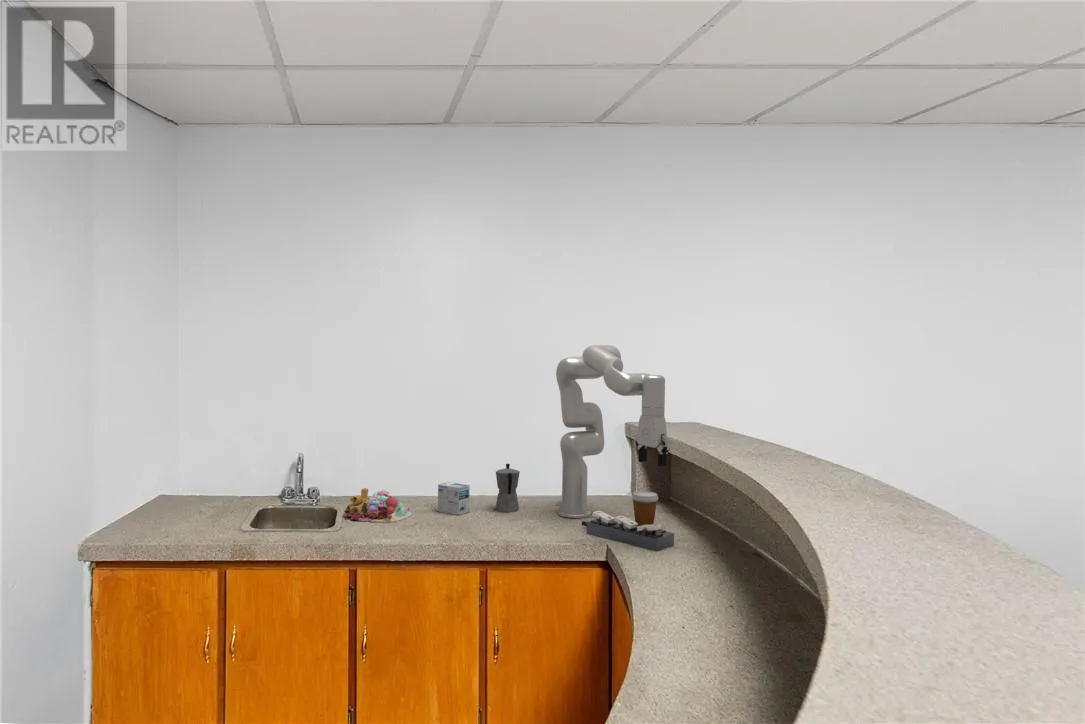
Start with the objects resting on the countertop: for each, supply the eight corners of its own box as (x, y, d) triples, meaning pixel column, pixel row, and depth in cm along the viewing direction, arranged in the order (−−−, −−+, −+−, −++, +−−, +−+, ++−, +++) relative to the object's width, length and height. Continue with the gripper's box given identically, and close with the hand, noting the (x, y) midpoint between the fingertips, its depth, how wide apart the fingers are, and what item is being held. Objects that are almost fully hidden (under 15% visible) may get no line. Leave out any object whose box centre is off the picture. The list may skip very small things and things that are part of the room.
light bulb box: (470, 512, 288) (470, 484, 288) (458, 515, 282) (459, 487, 282) (448, 508, 294) (448, 480, 293) (437, 511, 288) (437, 483, 288)
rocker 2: (613, 520, 254) (614, 517, 253) (621, 518, 257) (622, 515, 257) (629, 529, 249) (630, 525, 249) (637, 526, 252) (638, 523, 252)
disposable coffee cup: (656, 531, 265) (657, 497, 265) (629, 529, 267) (630, 495, 267) (658, 524, 275) (659, 491, 274) (632, 522, 277) (632, 490, 276)
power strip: (573, 530, 265) (573, 513, 265) (591, 525, 272) (592, 508, 272) (656, 551, 241) (656, 532, 241) (673, 545, 248) (674, 527, 248)
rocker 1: (591, 515, 260) (592, 512, 260) (599, 513, 263) (600, 510, 263) (607, 523, 256) (608, 520, 255) (615, 521, 259) (616, 517, 259)
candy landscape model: (333, 521, 272) (333, 496, 272) (357, 506, 295) (357, 483, 295) (401, 525, 269) (401, 499, 269) (419, 509, 292) (419, 485, 292)
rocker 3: (637, 530, 247) (636, 526, 247) (644, 528, 250) (644, 524, 250) (654, 530, 242) (653, 526, 242) (662, 527, 246) (661, 524, 246)
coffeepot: (493, 505, 299) (494, 460, 298) (517, 505, 301) (517, 460, 300) (497, 515, 284) (498, 468, 283) (522, 514, 285) (522, 467, 285)
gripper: (627, 410, 255) (626, 460, 256) (662, 415, 241) (661, 468, 241) (644, 409, 259) (643, 459, 260) (679, 414, 245) (678, 466, 245)
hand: (652, 463), depth 250 cm, fingers open, 9 cm apart
